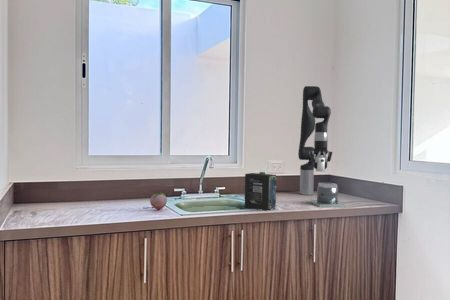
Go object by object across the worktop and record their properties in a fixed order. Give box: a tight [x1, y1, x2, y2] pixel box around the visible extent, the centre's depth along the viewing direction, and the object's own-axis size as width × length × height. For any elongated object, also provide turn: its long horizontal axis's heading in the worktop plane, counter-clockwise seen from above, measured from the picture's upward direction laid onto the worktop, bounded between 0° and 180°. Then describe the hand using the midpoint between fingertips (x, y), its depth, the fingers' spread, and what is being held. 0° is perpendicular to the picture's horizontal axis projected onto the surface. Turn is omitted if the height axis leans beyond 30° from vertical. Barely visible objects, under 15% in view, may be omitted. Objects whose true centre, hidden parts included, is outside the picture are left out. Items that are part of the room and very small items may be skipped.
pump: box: [315, 155, 326, 172], centre depth 224 cm, size 7×5×10 cm
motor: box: [309, 182, 347, 208], centre depth 226 cm, size 16×16×12 cm
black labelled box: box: [242, 171, 278, 211], centre depth 211 cm, size 8×18×20 cm, turn 53°
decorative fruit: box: [149, 191, 168, 211], centre depth 202 cm, size 9×8×10 cm
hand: (320, 168), depth 225 cm, fingers closed on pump, 5 cm apart
